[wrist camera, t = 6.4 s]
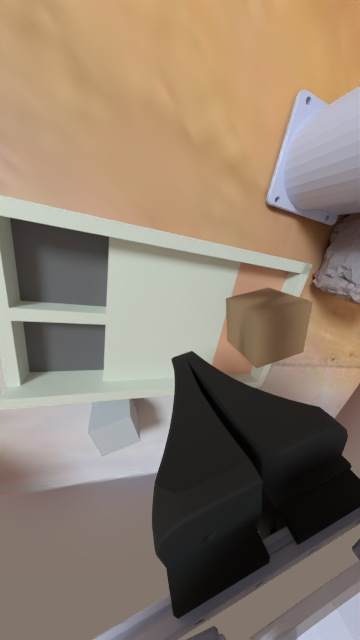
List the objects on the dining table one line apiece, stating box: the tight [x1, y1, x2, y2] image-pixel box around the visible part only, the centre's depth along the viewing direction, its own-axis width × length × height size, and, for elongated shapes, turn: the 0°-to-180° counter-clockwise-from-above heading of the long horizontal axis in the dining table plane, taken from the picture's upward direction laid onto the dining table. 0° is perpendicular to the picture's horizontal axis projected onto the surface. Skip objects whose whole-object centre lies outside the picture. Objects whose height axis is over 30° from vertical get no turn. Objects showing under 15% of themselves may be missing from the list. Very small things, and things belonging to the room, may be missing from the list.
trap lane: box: [0, 195, 312, 410], centre depth 18 cm, size 26×15×4 cm, turn 80°
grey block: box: [88, 399, 140, 456], centre depth 20 cm, size 4×4×4 cm
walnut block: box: [226, 287, 312, 368], centre depth 18 cm, size 5×5×5 cm
